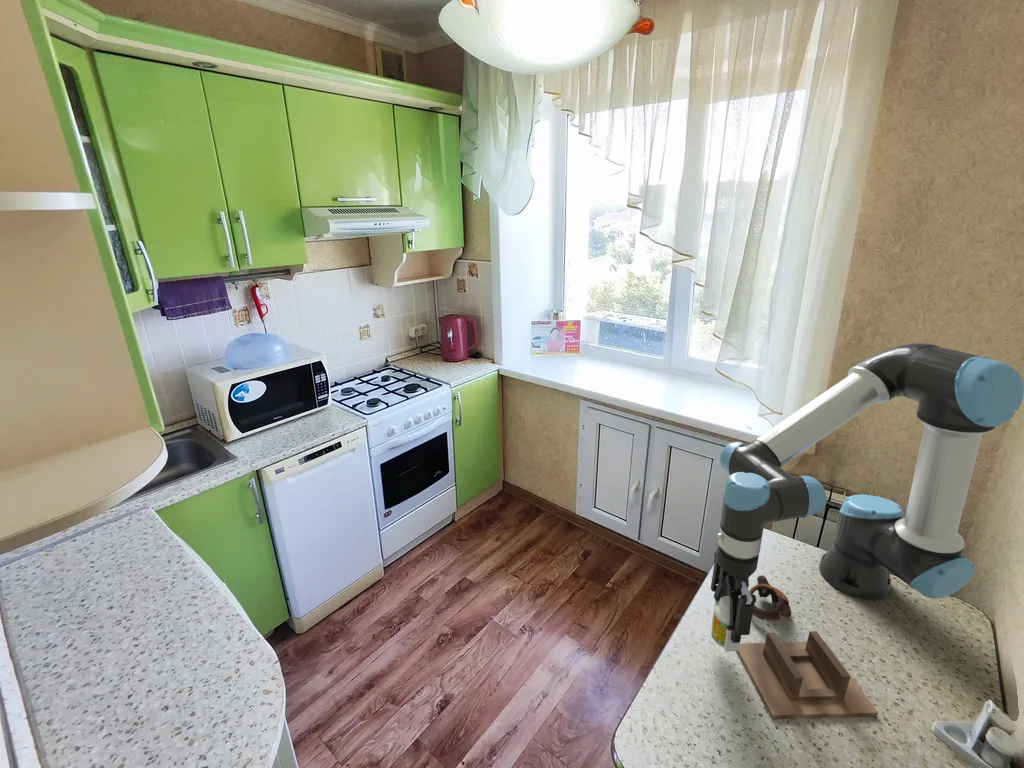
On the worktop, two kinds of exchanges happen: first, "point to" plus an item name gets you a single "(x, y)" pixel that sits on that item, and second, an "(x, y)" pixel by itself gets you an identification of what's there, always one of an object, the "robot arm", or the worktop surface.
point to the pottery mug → (776, 596)
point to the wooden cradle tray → (803, 679)
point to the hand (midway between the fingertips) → (724, 637)
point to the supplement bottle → (721, 620)
